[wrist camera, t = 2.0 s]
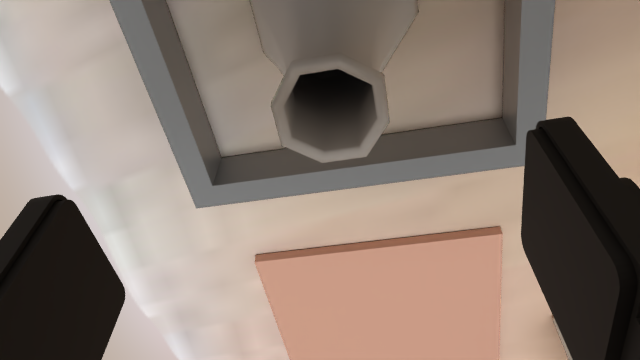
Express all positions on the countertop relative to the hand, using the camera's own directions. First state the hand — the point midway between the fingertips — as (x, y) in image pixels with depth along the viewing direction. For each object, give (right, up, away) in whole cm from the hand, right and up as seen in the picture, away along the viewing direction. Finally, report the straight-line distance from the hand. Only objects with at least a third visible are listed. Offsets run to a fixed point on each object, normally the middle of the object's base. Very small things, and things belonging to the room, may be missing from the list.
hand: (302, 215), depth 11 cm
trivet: (+5, -8, +23) cm, 25 cm away
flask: (+1, +9, +11) cm, 14 cm away
